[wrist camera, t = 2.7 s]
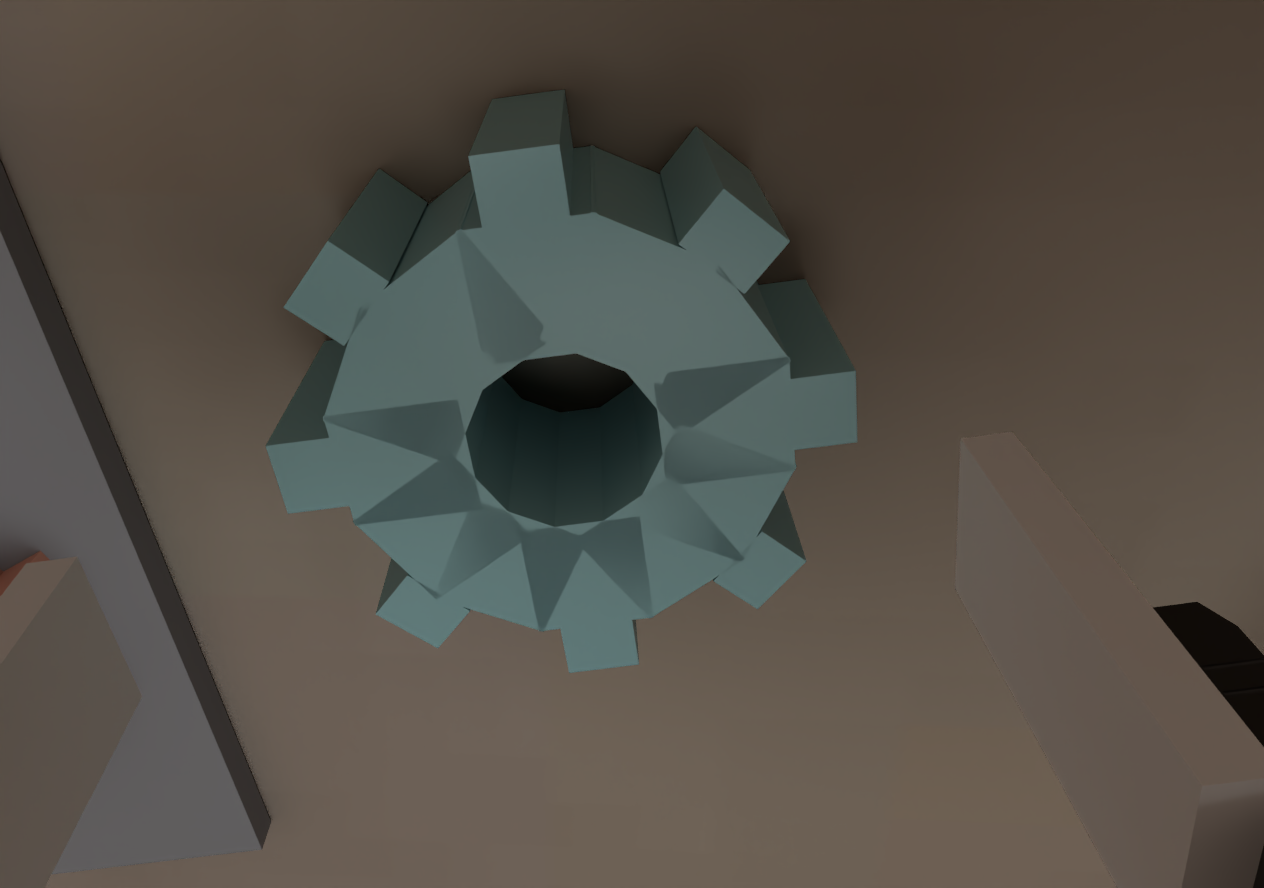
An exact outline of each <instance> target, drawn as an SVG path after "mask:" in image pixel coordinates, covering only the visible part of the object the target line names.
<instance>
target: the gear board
mask: <svg viewBox="0 0 1264 888" xmlns="http://www.w3.org/2000/svg"><path fill="white" fill-rule="evenodd" d="M71 557H78V559H79V562H80V564H81V566H82V568H83V570H84V572H85V575H86V577H87V579H88V581H89V583H90V585H91V587H92V590H93V592H94V594H95V596H96V598H97V600H98V603H99V605H100V607H101V609H102V611H103V613H104V615H105V618H106V620H107V622H108V624H109V626H110V628H111V631H112V633H113V635H114V637H115V639H116V641H117V643H118V646H119V648H120V650H121V652H122V654H123V656H124V659H125V661H126V663H127V665H128V667H129V669H130V671H131V674H132V676H133V678H134V680H135V682H136V684H137V686H138V689H139V691H140V693H141V695H142V698H141V700H140V702H139V704H138V706H137V707H136V709H135V711H134V713H133V715H132V717H131V719H130V721H129V723H128V725H127V727H126V729H125V731H124V733H123V735H122V737H121V739H120V741H119V743H118V745H117V747H116V749H115V751H114V753H113V755H112V757H111V758H110V760H109V762H108V764H107V766H106V768H105V770H104V772H103V774H102V776H101V778H100V780H99V782H98V784H97V786H96V788H95V790H94V792H93V794H92V796H91V798H90V800H89V802H88V804H87V806H86V807H85V809H84V811H83V813H82V815H81V817H80V819H79V821H78V823H77V825H76V827H75V829H74V831H73V833H72V835H71V837H70V839H69V841H68V843H67V845H66V847H65V849H64V851H63V853H62V855H61V857H60V858H59V860H58V862H57V864H56V866H55V868H54V870H53V872H52V874H58V873H67V872H75V871H84V870H92V869H101V868H109V867H118V866H126V865H135V864H143V863H151V862H160V861H168V860H177V859H185V858H194V857H202V856H211V855H219V854H228V853H236V852H245V851H253V850H262V848H263V845H264V842H265V839H266V836H267V833H268V830H269V827H270V824H271V821H270V818H269V816H268V813H267V811H266V808H265V806H264V803H263V801H262V799H261V796H260V794H259V791H258V789H257V786H256V784H255V781H254V779H253V777H252V774H251V772H250V769H249V767H248V764H247V762H246V759H245V757H244V755H243V752H242V750H241V747H240V745H239V742H238V740H237V737H236V735H235V733H234V730H233V728H232V725H231V723H230V720H229V718H228V715H227V713H226V711H225V708H224V706H223V703H222V701H221V698H220V696H219V694H218V691H217V689H216V686H215V684H214V681H213V679H212V676H211V674H210V672H209V669H208V667H207V664H206V662H205V659H204V657H203V654H202V652H201V650H200V647H199V645H198V642H197V640H196V637H195V635H194V632H193V630H192V628H191V625H190V623H189V620H188V618H187V615H186V613H185V610H184V608H183V606H182V603H181V601H180V598H179V596H178V593H177V591H176V589H175V586H174V584H173V581H172V579H171V576H170V574H169V571H168V569H167V567H166V564H165V562H164V559H163V557H162V554H161V552H160V549H159V547H158V545H157V542H156V540H155V537H154V535H153V532H152V530H151V527H150V525H149V523H148V520H147V518H146V515H145V513H144V510H143V508H142V505H141V503H140V501H139V498H138V496H137V493H136V491H135V488H134V486H133V483H132V481H131V479H130V476H129V474H128V471H127V469H126V466H125V464H124V462H123V459H122V457H121V454H120V452H119V449H118V447H117V444H116V442H115V440H114V437H113V435H112V432H111V430H110V427H109V425H108V422H107V420H106V418H105V415H104V413H103V410H102V408H101V405H100V403H99V400H98V398H97V396H96V393H95V391H94V388H93V386H92V383H91V381H90V378H89V376H88V374H87V371H86V369H85V366H84V364H83V361H82V359H81V357H80V354H79V352H78V349H77V347H76V344H75V342H74V339H73V337H72V335H71V332H70V330H69V327H68V325H67V322H66V320H65V317H64V315H63V313H62V310H61V308H60V305H59V303H58V300H57V298H56V295H55V293H54V291H53V288H52V286H51V283H50V281H49V278H48V276H47V273H46V271H45V269H44V266H43V264H42V261H41V259H40V256H39V254H38V251H37V249H36V247H35V244H34V242H33V239H32V237H31V234H30V232H29V230H28V227H27V225H26V222H25V220H24V217H23V215H22V212H21V210H20V208H19V205H18V203H17V200H16V198H15V195H14V193H13V190H12V188H11V186H10V183H9V181H8V178H7V176H6V173H5V171H4V168H3V166H2V164H1V161H0V596H1V595H2V594H3V593H4V591H5V590H6V589H7V587H8V586H9V585H10V584H11V582H12V581H13V580H14V578H15V577H16V576H17V575H18V573H19V572H20V571H21V569H22V568H23V567H24V565H25V564H26V563H33V562H41V561H48V560H56V559H63V558H71Z"/></svg>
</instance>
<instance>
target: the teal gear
mask: <svg viewBox="0 0 1264 888" xmlns="http://www.w3.org/2000/svg"><path fill="white" fill-rule="evenodd" d="M468 158H469V163H470V168H471V171H470V172H469V173H467V174H466V175H465V176H464V177H462V178H461V179H460V180H459V181H457V182H456V183H455V184H454V185H452V186H451V187H450V188H449V189H447V190H446V191H445V192H444V193H443V194H441V195H440V196H439V197H438V198H436V199H435V200H434V201H433V202H431V203H430V204H429V205H428V206H426V205H427V202H426V201H425V200H423V199H422V198H420V197H419V196H418V195H416V194H415V193H413V192H412V191H410V190H409V189H408V188H406V187H405V186H403V185H402V184H401V183H399V182H398V181H396V180H395V179H393V178H392V177H391V176H389V175H388V174H386V173H385V172H384V171H382V170H381V169H378V171H377V172H376V173H375V175H374V176H373V178H372V179H371V180H370V182H369V183H368V185H367V186H366V188H365V189H364V190H363V192H362V193H361V195H360V196H359V197H358V199H357V200H356V202H355V203H354V204H353V206H352V207H351V209H350V210H349V212H348V213H347V214H346V216H345V217H344V219H343V220H342V221H341V223H340V224H339V226H338V227H337V228H336V230H335V231H334V233H333V234H332V235H331V237H330V238H329V240H328V241H327V243H326V244H325V246H324V247H323V249H322V250H321V252H320V253H319V255H318V256H317V258H316V259H315V261H314V262H313V264H312V265H311V267H310V268H309V270H308V271H307V273H306V274H305V276H304V277H303V279H302V280H301V282H300V283H299V285H298V286H297V288H296V289H295V291H294V292H293V294H292V295H291V297H290V298H289V300H288V301H287V303H286V304H285V306H284V307H283V308H285V309H287V310H288V311H290V312H291V313H293V314H294V315H296V316H298V317H299V318H301V319H302V320H304V321H305V322H307V323H309V324H310V325H312V326H313V327H315V328H316V329H318V330H320V331H321V332H323V333H324V334H326V335H327V336H329V337H331V338H332V339H334V340H330V341H324V343H323V345H322V347H321V348H320V350H319V352H318V354H317V355H316V357H315V359H314V361H313V363H312V364H311V366H310V368H309V370H308V371H307V373H306V375H305V377H304V379H303V380H302V382H301V384H300V386H299V387H298V389H297V391H296V393H295V395H294V396H293V398H292V400H291V402H290V403H289V405H288V407H287V409H286V411H285V412H284V414H283V416H282V418H281V419H280V421H279V423H278V425H277V427H276V428H275V430H274V432H273V434H272V435H271V437H270V439H269V441H268V443H267V444H266V449H267V452H268V455H269V458H270V461H271V464H272V467H273V470H274V473H275V476H276V479H277V482H278V485H279V488H280V491H281V494H282V497H283V500H284V503H285V506H286V509H287V512H288V514H289V513H297V512H305V511H313V510H321V509H329V508H337V507H345V506H350V510H351V513H352V516H353V522H354V523H355V525H357V526H358V527H359V528H360V529H361V530H362V531H363V532H364V533H365V534H367V535H368V536H369V537H370V538H371V539H372V540H373V541H374V542H375V543H376V544H377V545H378V546H379V547H380V548H382V549H383V550H384V551H385V552H386V553H387V554H388V555H389V556H390V557H391V562H390V565H389V569H388V572H387V576H386V579H385V583H384V586H383V590H382V593H381V597H380V600H379V604H378V608H377V611H376V615H378V616H380V617H382V618H383V619H385V620H387V621H389V622H391V623H393V624H394V625H396V626H398V627H400V628H402V629H403V630H405V631H407V632H409V633H411V634H413V635H414V636H416V637H418V638H420V639H422V640H424V641H425V642H427V643H429V644H431V645H433V646H434V647H436V648H438V647H439V646H440V645H441V644H442V643H443V642H444V641H445V639H446V638H447V637H448V636H449V635H450V634H451V632H452V631H453V630H454V629H455V628H456V627H457V626H458V624H459V623H460V622H461V621H462V620H463V619H464V617H465V616H466V615H467V614H468V613H469V612H470V609H471V610H474V611H478V612H481V613H484V614H488V615H491V616H494V617H497V618H501V619H504V620H507V621H510V622H514V623H517V624H520V625H523V626H527V627H530V628H533V629H536V630H539V631H543V632H544V631H546V630H554V629H561V634H562V639H563V644H564V649H565V654H566V659H567V664H568V669H569V673H573V672H581V671H589V670H597V669H606V668H614V667H622V666H630V665H639V658H638V643H637V629H636V619H644V618H649V619H650V618H652V617H654V616H655V615H656V614H658V613H659V612H661V611H663V610H664V609H666V608H668V607H669V606H671V605H672V604H674V603H676V602H677V601H679V600H680V599H682V598H684V597H685V596H687V595H688V594H690V593H692V592H693V591H695V590H696V589H698V588H700V587H701V586H703V585H704V584H706V583H708V582H709V581H711V580H712V579H713V581H714V582H716V583H717V584H719V585H720V586H722V587H723V588H725V589H727V590H728V591H730V592H731V593H733V594H734V595H736V596H738V597H739V598H741V599H742V600H744V601H745V602H747V603H749V604H750V605H752V606H753V607H755V608H756V609H758V608H759V607H760V606H761V605H762V604H763V603H764V602H765V601H766V600H767V599H768V598H769V597H771V596H772V595H773V594H774V593H775V592H776V591H777V590H778V589H779V588H780V587H781V586H782V585H783V584H784V583H785V582H786V581H787V580H788V579H789V578H790V577H791V576H792V575H793V574H794V573H795V572H796V571H797V570H798V569H799V568H800V567H801V566H802V565H803V564H804V563H805V562H806V558H805V555H804V552H803V549H802V546H801V543H800V540H799V537H798V534H797V531H796V528H795V525H794V521H793V518H792V515H791V512H790V509H789V506H788V503H787V500H786V497H785V494H784V491H783V489H784V487H785V486H786V484H787V482H788V480H789V479H790V477H791V475H792V473H793V472H794V470H796V469H795V468H796V463H795V451H794V450H799V449H807V448H815V447H823V446H830V445H838V444H846V443H854V442H857V406H856V370H855V369H854V367H853V365H852V363H851V361H850V359H849V358H848V356H847V354H846V352H845V350H844V349H843V347H842V345H841V343H840V341H839V339H838V338H837V336H836V334H835V332H834V330H833V329H832V327H831V325H830V323H829V321H828V319H827V318H826V316H825V314H824V312H823V310H822V308H821V307H820V305H819V303H818V301H817V299H816V298H815V296H814V294H813V292H812V290H811V288H810V287H809V285H808V283H807V281H806V279H801V280H793V281H785V282H778V283H770V284H762V285H759V284H758V282H757V279H758V278H759V277H760V276H761V275H762V273H763V272H764V271H765V270H766V269H767V268H768V266H769V265H770V264H771V263H772V262H773V261H774V260H775V258H776V257H777V256H778V255H779V254H780V253H781V251H782V250H783V249H784V248H785V247H786V246H787V245H788V243H789V242H790V240H789V239H788V237H787V235H786V233H785V231H784V230H783V228H782V226H781V224H780V223H779V221H778V219H777V217H776V216H775V214H774V212H773V210H772V208H771V207H770V205H769V203H768V201H767V200H766V198H765V196H764V194H763V192H762V191H761V189H760V187H759V185H758V184H757V182H756V180H755V178H754V177H753V175H752V173H751V171H750V170H749V169H748V168H747V167H746V166H744V165H743V164H742V163H741V162H739V161H738V160H737V159H736V158H734V157H733V156H732V155H731V154H730V153H728V152H727V151H726V150H725V149H723V148H722V147H721V146H720V145H718V144H717V143H716V142H715V141H714V140H712V139H711V138H710V137H709V136H707V135H706V134H705V133H704V132H703V131H701V130H700V129H699V128H698V127H695V128H694V129H693V131H692V132H691V133H690V134H689V136H688V137H687V138H686V139H685V141H684V142H683V143H682V145H681V146H680V147H679V148H678V150H677V151H676V152H675V153H674V155H673V156H672V157H671V159H670V160H669V161H668V162H667V164H666V165H665V166H664V167H663V169H662V170H661V171H660V174H658V173H656V172H653V171H651V170H649V169H646V168H644V167H641V166H639V165H637V164H634V163H632V162H630V161H627V160H625V159H622V158H620V157H618V156H615V155H613V154H610V153H608V152H606V151H603V150H601V149H599V148H596V147H595V146H591V145H590V146H587V147H579V148H573V144H572V137H571V130H570V123H569V116H568V110H567V103H566V96H565V89H564V90H556V91H549V92H542V93H534V94H527V95H519V96H512V97H504V98H497V99H492V101H491V103H490V105H489V108H488V110H487V113H486V115H485V117H484V120H483V122H482V124H481V127H480V129H479V132H478V134H477V136H476V139H475V141H474V143H473V146H472V148H471V151H470V153H469V155H468ZM568 354H579V355H582V356H584V357H587V358H590V359H593V360H595V361H598V362H601V363H603V364H606V365H609V366H611V367H614V368H617V369H619V370H622V371H625V372H626V373H627V374H628V375H629V376H630V378H631V379H632V380H633V381H634V382H633V384H632V385H631V386H630V387H628V388H627V389H625V390H624V391H623V392H621V393H620V394H618V395H617V396H615V397H614V398H613V399H611V400H610V401H608V402H607V403H605V404H604V405H603V406H601V407H599V408H591V409H583V410H575V411H567V412H557V411H554V410H552V409H549V408H546V407H543V406H540V405H538V404H535V403H532V402H529V401H526V400H524V399H521V398H520V396H519V395H518V394H517V393H516V392H515V391H514V390H513V389H512V388H511V386H510V385H509V384H508V383H507V382H506V381H505V380H504V379H503V378H502V377H501V376H502V375H504V374H505V373H506V372H508V371H509V370H511V369H512V368H513V367H515V366H516V365H517V364H519V363H520V362H521V361H523V360H529V359H537V358H545V357H552V356H560V355H568Z"/></svg>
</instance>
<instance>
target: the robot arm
mask: <svg viewBox="0 0 1264 888" xmlns="http://www.w3.org/2000/svg"><path fill="white" fill-rule="evenodd" d="M955 590H956V592H957V593H958V595H959V597H960V599H961V601H962V603H963V605H964V606H965V608H966V610H967V612H968V614H969V616H970V617H971V619H972V621H973V623H974V625H975V627H976V629H977V630H978V632H979V634H980V636H981V638H982V640H983V641H984V643H985V645H986V647H987V649H988V651H989V652H990V654H991V656H992V658H993V660H994V662H995V664H996V665H997V667H998V669H999V671H1000V673H1001V675H1002V676H1003V678H1004V680H1005V682H1006V684H1007V686H1008V688H1009V689H1010V691H1011V693H1012V695H1013V697H1014V699H1015V700H1016V702H1017V704H1018V706H1019V708H1020V710H1021V711H1022V713H1023V715H1024V717H1025V719H1026V721H1027V723H1028V724H1029V726H1030V728H1031V730H1032V732H1033V734H1034V735H1035V737H1036V739H1037V741H1038V743H1039V745H1040V747H1041V748H1042V750H1043V752H1044V754H1045V756H1046V758H1047V759H1048V761H1049V763H1050V765H1051V767H1052V769H1053V770H1054V772H1055V774H1056V776H1057V778H1058V780H1059V782H1060V783H1061V785H1062V787H1063V789H1064V791H1065V793H1066V794H1067V796H1068V798H1069V800H1070V802H1071V804H1072V805H1073V807H1074V809H1075V811H1076V813H1077V815H1078V817H1079V818H1080V820H1081V822H1082V824H1083V826H1084V828H1085V829H1086V831H1087V833H1088V835H1089V837H1090V839H1091V841H1092V842H1093V844H1094V846H1095V848H1096V850H1097V852H1098V853H1099V855H1100V857H1101V859H1102V861H1103V863H1104V864H1105V866H1106V868H1107V870H1108V872H1109V874H1110V876H1111V877H1112V879H1113V881H1114V883H1115V885H1116V887H1117V888H1264V655H1263V654H1262V653H1261V652H1260V651H1259V650H1258V649H1257V647H1256V646H1255V645H1254V644H1253V643H1252V642H1251V641H1250V639H1249V638H1248V637H1247V636H1246V635H1245V634H1244V633H1243V632H1242V630H1241V629H1240V628H1239V627H1238V626H1236V625H1235V624H1233V623H1231V622H1230V621H1228V620H1226V619H1225V618H1223V617H1221V616H1220V615H1218V614H1216V613H1215V612H1213V611H1212V610H1210V609H1208V608H1207V607H1205V606H1203V605H1202V604H1200V603H1198V602H1192V603H1184V604H1177V605H1169V606H1162V607H1154V608H1153V607H1152V606H1151V605H1150V604H1149V602H1148V601H1147V600H1146V599H1145V597H1144V596H1143V595H1142V594H1141V592H1140V591H1139V590H1138V589H1137V587H1136V586H1135V585H1134V584H1133V582H1132V581H1131V580H1130V579H1129V577H1128V576H1127V575H1126V574H1125V572H1124V571H1123V570H1122V569H1121V567H1120V566H1119V565H1118V564H1117V562H1116V561H1115V560H1114V558H1113V557H1112V556H1111V555H1110V553H1109V552H1108V551H1107V550H1106V548H1105V547H1104V546H1103V545H1102V543H1101V542H1100V541H1099V540H1098V538H1097V537H1096V536H1095V535H1094V533H1093V532H1092V531H1091V530H1090V528H1089V527H1088V526H1087V525H1086V523H1085V522H1084V521H1083V520H1082V518H1081V517H1080V516H1079V515H1078V513H1077V512H1076V511H1075V509H1074V508H1073V507H1072V506H1071V504H1070V503H1069V502H1068V501H1067V499H1066V498H1065V497H1064V496H1063V494H1062V493H1061V492H1060V491H1059V489H1058V488H1057V487H1056V486H1055V484H1054V483H1053V482H1052V481H1051V479H1050V478H1049V477H1048V476H1047V474H1046V473H1045V472H1044V471H1043V469H1042V468H1041V467H1040V466H1039V464H1038V463H1037V462H1036V461H1035V459H1034V458H1033V457H1032V455H1031V454H1030V453H1029V452H1028V450H1027V449H1026V448H1025V447H1024V445H1023V444H1022V443H1021V442H1020V440H1019V439H1018V438H1017V437H1016V435H1015V434H1014V433H1013V432H1004V433H997V434H990V435H982V436H975V437H967V438H960V463H959V491H958V518H957V545H956V573H955ZM141 698H142V695H141V693H140V691H139V689H138V686H137V684H136V682H135V680H134V678H133V676H132V674H131V671H130V669H129V667H128V665H127V663H126V661H125V659H124V656H123V654H122V652H121V650H120V648H119V646H118V643H117V641H116V639H115V637H114V635H113V633H112V631H111V628H110V626H109V624H108V622H107V620H106V618H105V615H104V613H103V611H102V609H101V607H100V605H99V603H98V600H97V598H96V596H95V594H94V592H93V590H92V587H91V585H90V583H89V581H88V579H87V577H86V575H85V572H84V570H83V568H82V566H81V564H80V562H79V559H78V557H71V558H63V559H56V560H48V561H41V562H33V563H26V564H25V565H24V567H23V568H22V569H21V571H20V572H19V573H18V575H17V576H16V577H15V578H14V580H13V581H12V582H11V584H10V585H9V586H8V587H7V589H6V590H5V591H4V593H3V594H2V595H1V596H0V888H45V886H46V884H47V882H48V880H49V878H50V876H51V874H52V872H53V870H54V868H55V866H56V864H57V862H58V860H59V858H60V857H61V855H62V853H63V851H64V849H65V847H66V845H67V843H68V841H69V839H70V837H71V835H72V833H73V831H74V829H75V827H76V825H77V823H78V821H79V819H80V817H81V815H82V813H83V811H84V809H85V807H86V806H87V804H88V802H89V800H90V798H91V796H92V794H93V792H94V790H95V788H96V786H97V784H98V782H99V780H100V778H101V776H102V774H103V772H104V770H105V768H106V766H107V764H108V762H109V760H110V758H111V757H112V755H113V753H114V751H115V749H116V747H117V745H118V743H119V741H120V739H121V737H122V735H123V733H124V731H125V729H126V727H127V725H128V723H129V721H130V719H131V717H132V715H133V713H134V711H135V709H136V707H137V706H138V704H139V702H140V700H141Z"/></svg>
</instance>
